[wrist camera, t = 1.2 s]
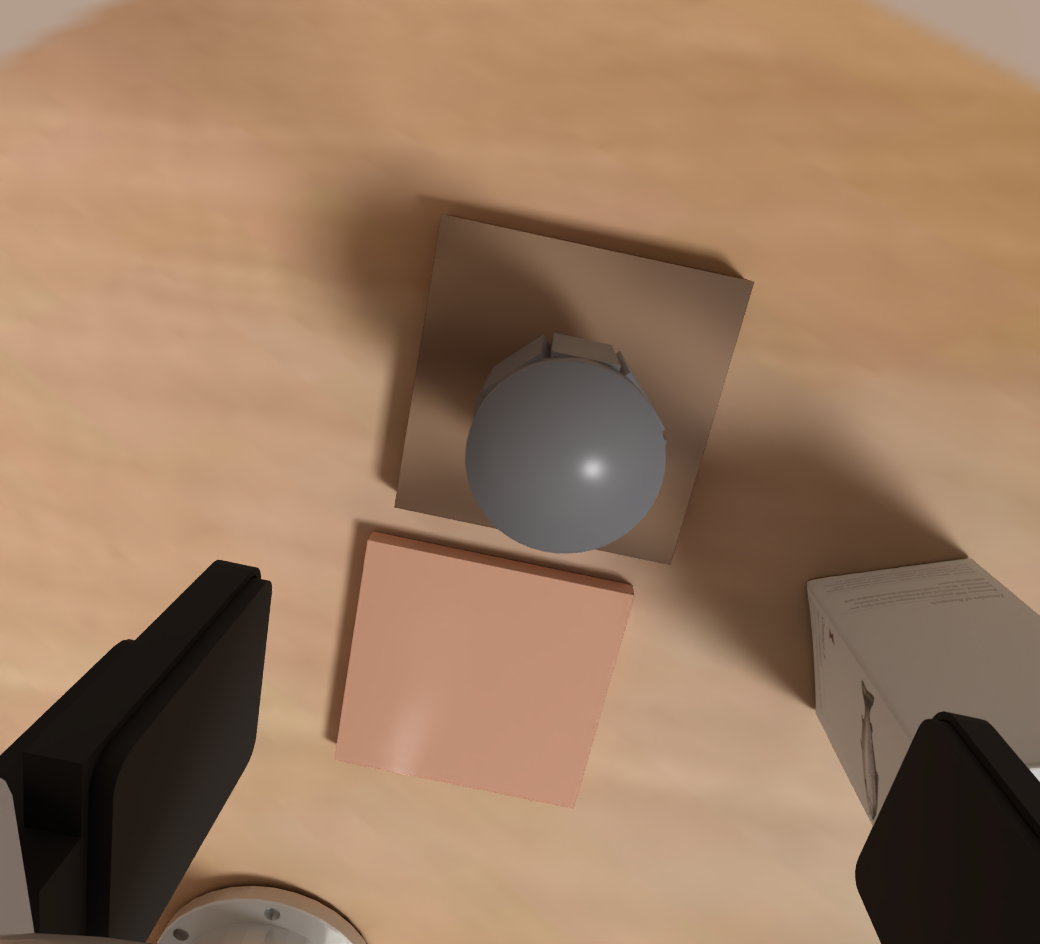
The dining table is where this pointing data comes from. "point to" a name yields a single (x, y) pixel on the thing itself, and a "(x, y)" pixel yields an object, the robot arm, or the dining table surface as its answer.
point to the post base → (543, 311)
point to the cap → (565, 446)
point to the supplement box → (920, 664)
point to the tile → (478, 669)
